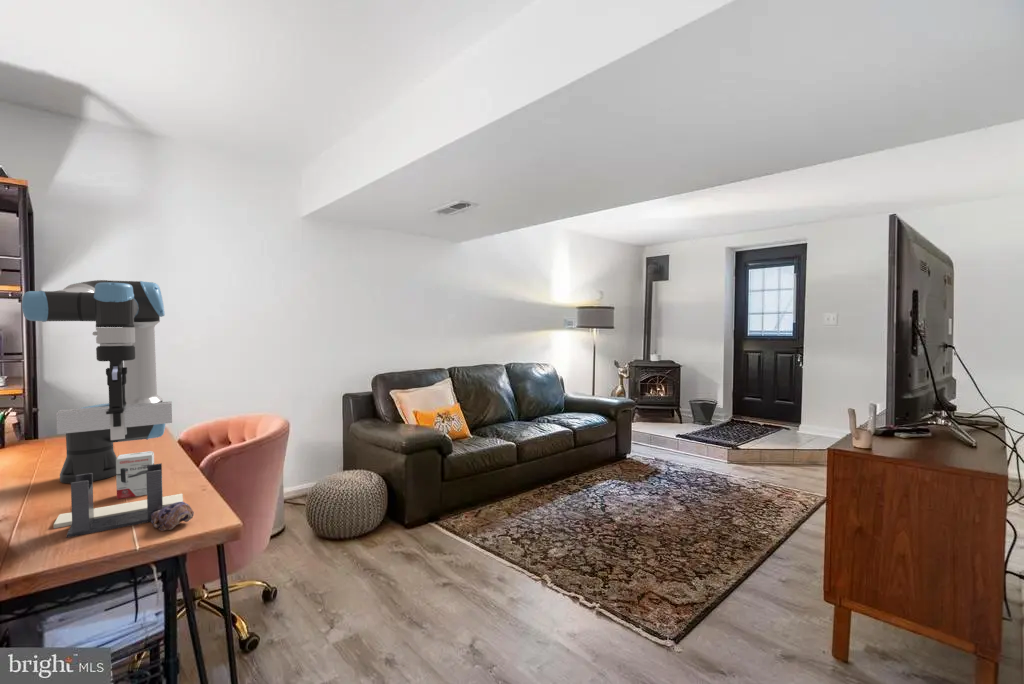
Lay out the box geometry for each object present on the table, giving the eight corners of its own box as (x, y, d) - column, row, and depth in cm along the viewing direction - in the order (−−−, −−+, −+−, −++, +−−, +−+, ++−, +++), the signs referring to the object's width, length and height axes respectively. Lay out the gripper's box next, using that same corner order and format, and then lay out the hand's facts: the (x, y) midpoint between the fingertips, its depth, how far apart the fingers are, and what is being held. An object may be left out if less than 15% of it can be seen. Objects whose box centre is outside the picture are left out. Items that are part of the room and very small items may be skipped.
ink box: (116, 499, 137) (115, 458, 136) (118, 494, 141) (117, 454, 140) (153, 493, 141) (152, 454, 141) (154, 489, 145) (153, 450, 145)
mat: (59, 518, 123) (59, 514, 123) (182, 496, 138) (182, 493, 138) (53, 528, 117) (53, 524, 117) (183, 505, 132) (183, 501, 132)
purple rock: (142, 525, 119) (141, 501, 118) (177, 515, 125) (176, 492, 125) (164, 536, 112) (163, 510, 112) (199, 525, 119) (199, 500, 118)
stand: (72, 526, 118) (70, 475, 118) (167, 508, 129) (166, 462, 129) (66, 537, 111) (64, 484, 111) (167, 518, 122) (166, 469, 122)
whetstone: (60, 430, 117) (60, 409, 116) (171, 419, 129) (171, 401, 129) (57, 434, 112) (56, 412, 112) (172, 422, 125) (171, 403, 125)
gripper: (100, 344, 125) (103, 432, 126) (91, 346, 111) (94, 446, 111) (136, 343, 130) (139, 428, 131) (132, 345, 115) (135, 442, 116)
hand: (118, 436), depth 121 cm, fingers closed on whetstone, 5 cm apart
